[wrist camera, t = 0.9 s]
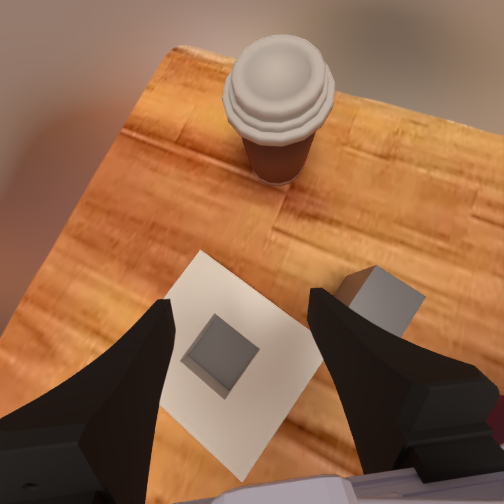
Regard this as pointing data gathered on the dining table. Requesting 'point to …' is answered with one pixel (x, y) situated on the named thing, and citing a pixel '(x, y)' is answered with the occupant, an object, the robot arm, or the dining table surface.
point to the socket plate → (233, 364)
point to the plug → (380, 299)
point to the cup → (497, 421)
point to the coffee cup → (278, 104)
